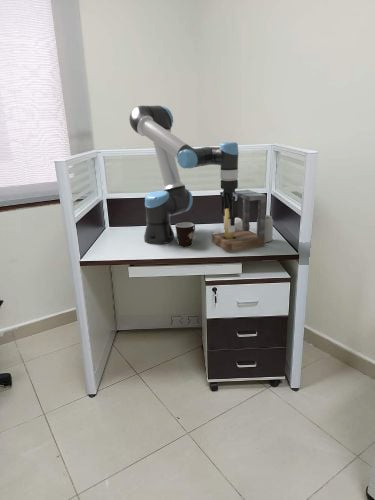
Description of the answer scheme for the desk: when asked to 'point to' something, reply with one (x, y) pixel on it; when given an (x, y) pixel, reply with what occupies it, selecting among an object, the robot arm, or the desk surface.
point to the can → (268, 228)
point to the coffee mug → (185, 233)
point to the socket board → (237, 241)
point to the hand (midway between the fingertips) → (229, 230)
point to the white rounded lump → (238, 224)
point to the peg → (227, 226)
